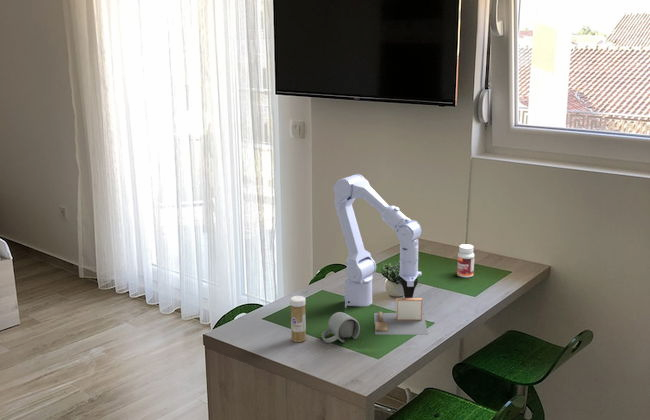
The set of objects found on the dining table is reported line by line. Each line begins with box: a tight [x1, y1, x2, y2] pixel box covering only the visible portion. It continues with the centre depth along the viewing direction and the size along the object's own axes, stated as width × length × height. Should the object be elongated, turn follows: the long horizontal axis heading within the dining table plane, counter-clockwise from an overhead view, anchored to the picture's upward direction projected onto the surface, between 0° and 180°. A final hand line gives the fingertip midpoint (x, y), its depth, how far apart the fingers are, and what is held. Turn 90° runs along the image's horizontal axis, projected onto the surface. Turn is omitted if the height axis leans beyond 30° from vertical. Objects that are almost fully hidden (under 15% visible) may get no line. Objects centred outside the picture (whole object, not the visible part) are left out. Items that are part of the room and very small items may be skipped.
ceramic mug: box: [321, 311, 361, 344], centre depth 208 cm, size 11×8×8 cm
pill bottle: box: [456, 243, 475, 278], centre depth 257 cm, size 6×6×11 cm
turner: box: [374, 311, 387, 331], centre depth 217 cm, size 4×12×1 cm, turn 177°
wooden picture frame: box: [395, 297, 423, 320], centre depth 218 cm, size 8×2×7 cm, turn 87°
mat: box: [373, 312, 429, 336], centre depth 217 cm, size 16×16×1 cm
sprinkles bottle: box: [289, 295, 307, 343], centre depth 207 cm, size 5×5×14 cm
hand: (408, 299), depth 222 cm, fingers closed
